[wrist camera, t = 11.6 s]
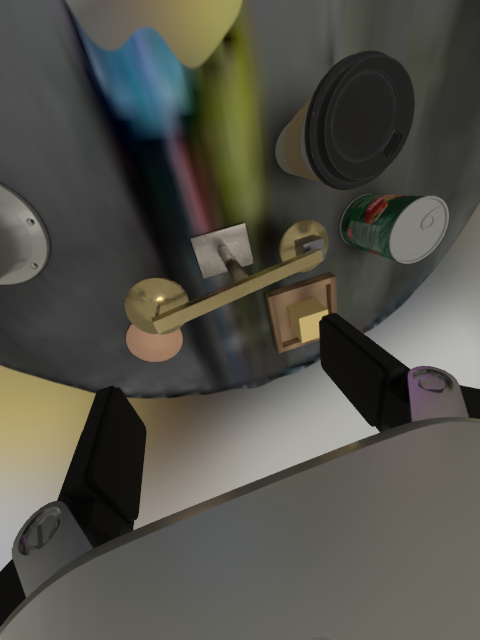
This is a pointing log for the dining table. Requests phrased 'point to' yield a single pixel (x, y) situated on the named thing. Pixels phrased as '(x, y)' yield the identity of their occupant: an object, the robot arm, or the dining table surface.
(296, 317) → the ochre block
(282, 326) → the walnut tray
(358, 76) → the coffee cup
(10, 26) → the dining table surface
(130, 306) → the balance
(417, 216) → the canned tomato
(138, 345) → the terracotta dish
